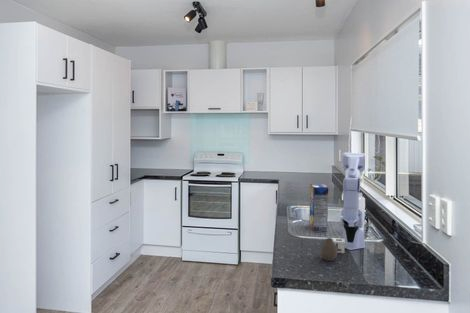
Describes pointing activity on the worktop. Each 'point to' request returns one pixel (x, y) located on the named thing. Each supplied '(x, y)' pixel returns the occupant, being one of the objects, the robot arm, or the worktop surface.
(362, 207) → the milk
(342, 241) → the letter cube
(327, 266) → the worktop surface
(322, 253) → the vase
